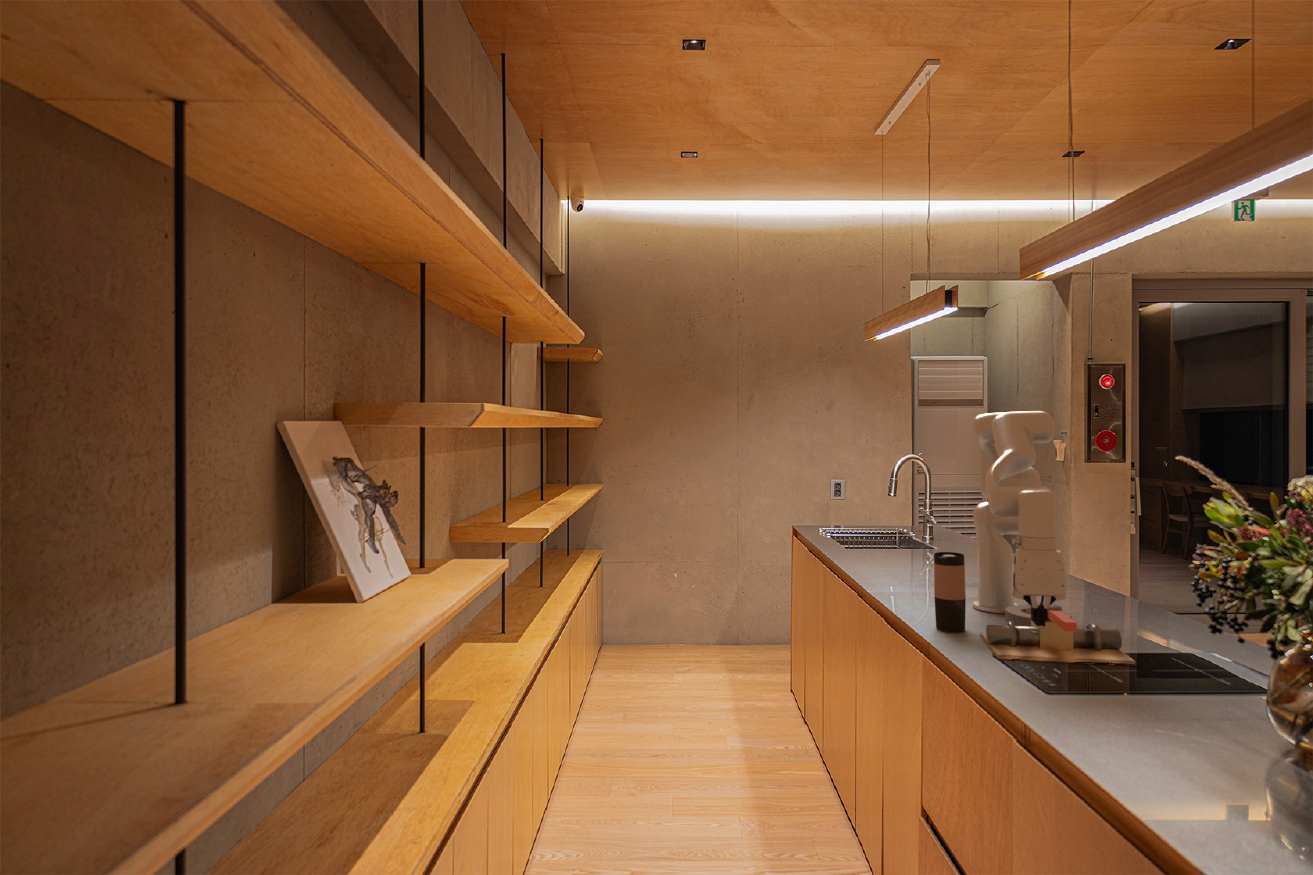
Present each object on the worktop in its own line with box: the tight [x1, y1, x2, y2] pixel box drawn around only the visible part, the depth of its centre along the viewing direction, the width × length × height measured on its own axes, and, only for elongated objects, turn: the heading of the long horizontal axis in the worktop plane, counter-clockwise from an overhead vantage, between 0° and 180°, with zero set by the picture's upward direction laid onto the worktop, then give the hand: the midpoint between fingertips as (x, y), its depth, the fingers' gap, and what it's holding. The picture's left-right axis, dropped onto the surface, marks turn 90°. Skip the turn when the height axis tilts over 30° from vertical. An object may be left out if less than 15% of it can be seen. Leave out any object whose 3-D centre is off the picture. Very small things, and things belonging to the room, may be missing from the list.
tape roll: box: [1004, 604, 1073, 626], centre depth 182 cm, size 15×15×5 cm
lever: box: [1047, 603, 1078, 632], centre depth 160 cm, size 15×4×3 cm, turn 167°
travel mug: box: [933, 551, 967, 634], centre depth 184 cm, size 8×8×20 cm
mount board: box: [979, 632, 1136, 665], centre depth 165 cm, size 28×18×1 cm, turn 77°
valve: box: [985, 619, 1123, 651], centre depth 165 cm, size 28×7×8 cm, turn 77°
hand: (1039, 624), depth 157 cm, fingers closed
